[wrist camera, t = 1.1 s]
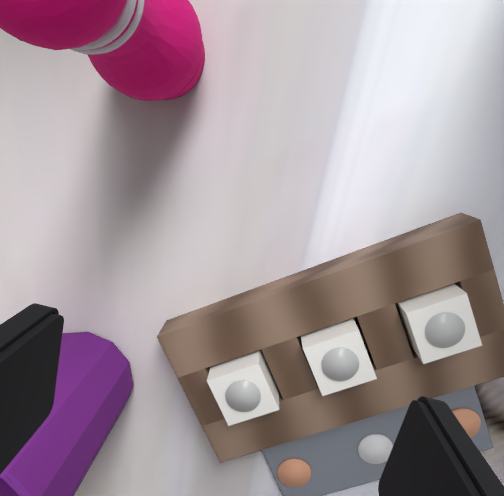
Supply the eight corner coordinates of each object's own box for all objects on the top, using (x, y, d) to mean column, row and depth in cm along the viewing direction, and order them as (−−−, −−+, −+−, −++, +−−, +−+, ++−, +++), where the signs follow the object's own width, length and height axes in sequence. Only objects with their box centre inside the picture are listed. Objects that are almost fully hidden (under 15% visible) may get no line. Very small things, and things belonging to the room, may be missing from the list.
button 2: (448, 279, 31) (467, 294, 28) (463, 327, 32) (483, 346, 29) (393, 298, 31) (407, 314, 28) (409, 344, 32) (424, 365, 29)
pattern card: (471, 381, 35) (474, 385, 34) (491, 444, 36) (494, 449, 35) (261, 445, 37) (261, 450, 37) (287, 501, 39) (287, 507, 38)
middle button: (350, 313, 32) (359, 330, 29) (367, 358, 33) (377, 379, 30) (300, 330, 32) (303, 349, 29) (318, 374, 33) (322, 397, 30)
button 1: (259, 344, 33) (258, 364, 30) (278, 387, 34) (279, 411, 31) (212, 360, 34) (206, 382, 31) (232, 402, 35) (228, 427, 31)
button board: (460, 212, 31) (480, 219, 28) (500, 351, 34) (521, 371, 31) (166, 320, 35) (156, 336, 32) (224, 438, 37) (220, 462, 34)
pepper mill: (199, -11, 28) (34, -365, 9) (221, 95, 30) (125, -2, 10) (103, 14, 29) (-249, -263, 9) (130, 115, 30) (-119, 61, 11)
